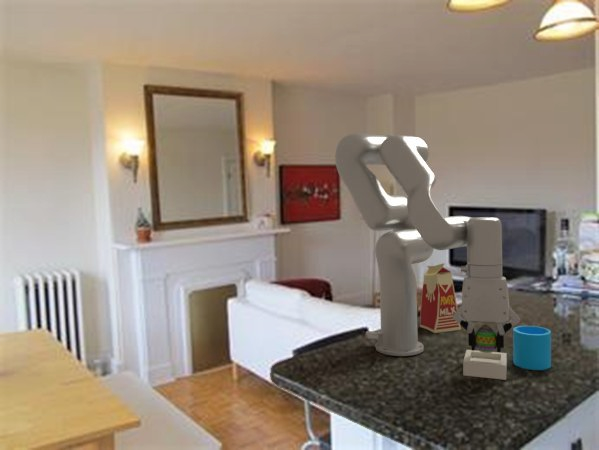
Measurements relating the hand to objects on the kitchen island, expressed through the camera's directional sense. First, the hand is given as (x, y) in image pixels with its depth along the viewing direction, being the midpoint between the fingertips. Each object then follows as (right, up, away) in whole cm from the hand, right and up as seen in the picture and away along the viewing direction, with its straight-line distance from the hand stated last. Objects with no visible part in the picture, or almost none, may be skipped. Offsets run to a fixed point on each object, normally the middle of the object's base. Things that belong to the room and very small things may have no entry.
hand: (486, 349), depth 119 cm
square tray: (0, -5, +1) cm, 5 cm away
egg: (0, -1, 0) cm, 1 cm away
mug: (+13, -5, +6) cm, 15 cm away
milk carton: (-1, -3, +38) cm, 38 cm away
